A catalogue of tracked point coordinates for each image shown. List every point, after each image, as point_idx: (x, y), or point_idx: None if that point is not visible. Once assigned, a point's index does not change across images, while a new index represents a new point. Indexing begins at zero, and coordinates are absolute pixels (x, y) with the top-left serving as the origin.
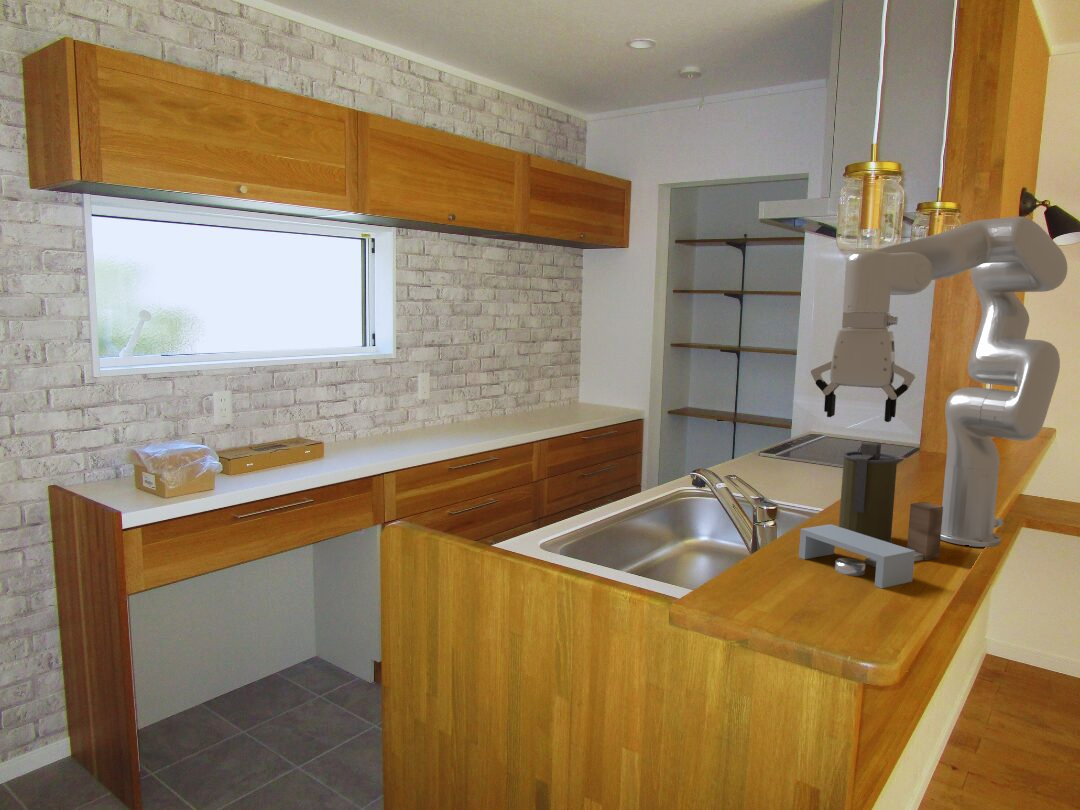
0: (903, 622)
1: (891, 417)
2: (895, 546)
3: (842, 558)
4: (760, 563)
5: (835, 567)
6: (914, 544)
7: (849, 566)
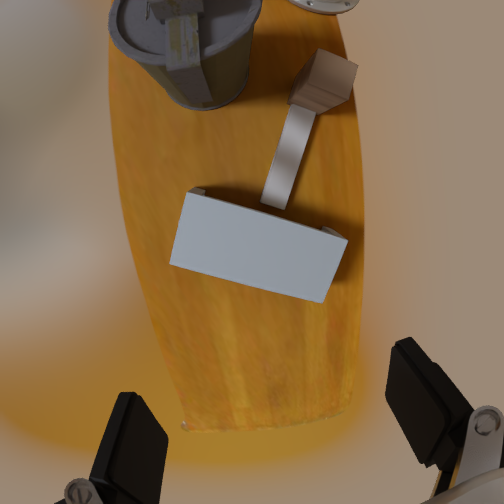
0: (348, 350)
1: (414, 342)
2: (321, 241)
3: None
4: (162, 309)
5: None
6: (303, 104)
7: None
